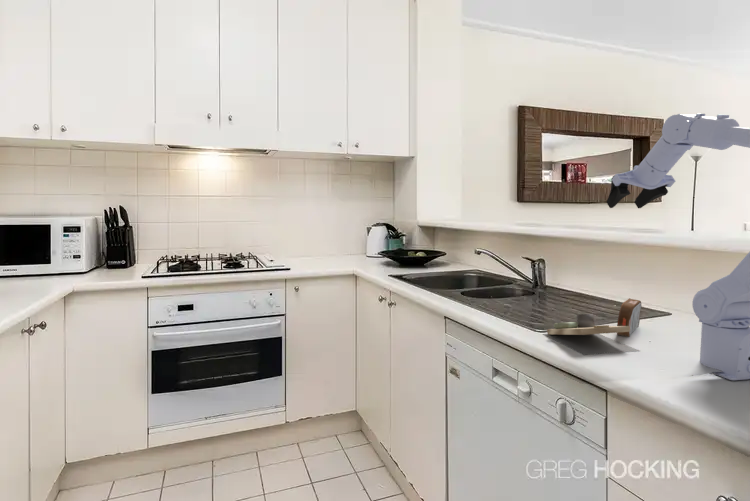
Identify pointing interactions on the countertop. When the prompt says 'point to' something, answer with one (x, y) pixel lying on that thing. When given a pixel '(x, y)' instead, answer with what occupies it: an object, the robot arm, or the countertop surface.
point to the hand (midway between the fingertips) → (623, 205)
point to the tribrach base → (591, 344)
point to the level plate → (585, 327)
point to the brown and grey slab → (629, 315)
